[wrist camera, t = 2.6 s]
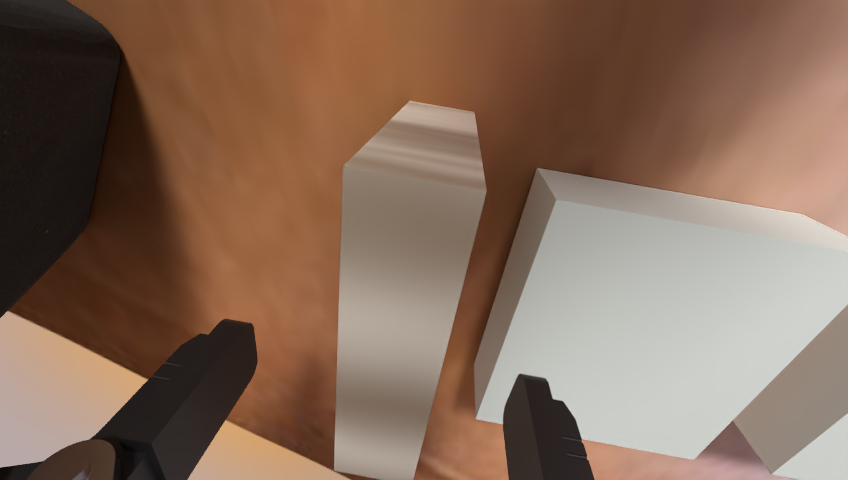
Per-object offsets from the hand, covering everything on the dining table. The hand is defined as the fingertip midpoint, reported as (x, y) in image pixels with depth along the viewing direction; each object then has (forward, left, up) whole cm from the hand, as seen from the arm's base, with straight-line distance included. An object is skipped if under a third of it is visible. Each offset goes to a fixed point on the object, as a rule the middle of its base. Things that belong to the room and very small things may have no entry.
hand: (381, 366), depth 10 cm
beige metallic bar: (0, 0, -10) cm, 10 cm away
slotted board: (+3, +20, -10) cm, 23 cm away
